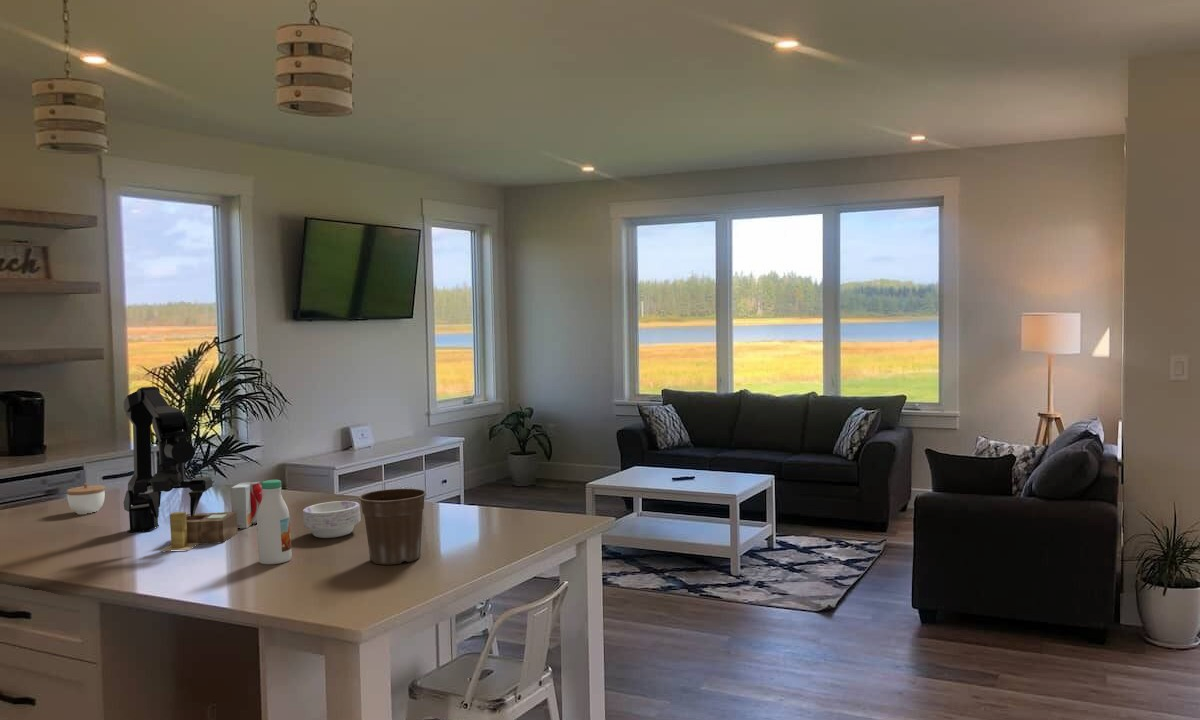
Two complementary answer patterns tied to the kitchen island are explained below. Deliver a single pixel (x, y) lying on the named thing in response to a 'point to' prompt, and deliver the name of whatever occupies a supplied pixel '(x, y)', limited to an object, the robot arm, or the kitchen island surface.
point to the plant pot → (393, 524)
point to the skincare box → (241, 504)
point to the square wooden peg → (178, 530)
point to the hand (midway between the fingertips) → (174, 517)
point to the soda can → (254, 498)
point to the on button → (217, 516)
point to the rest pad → (180, 548)
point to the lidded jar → (86, 498)
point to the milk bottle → (273, 525)
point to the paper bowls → (331, 518)
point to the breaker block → (210, 527)
